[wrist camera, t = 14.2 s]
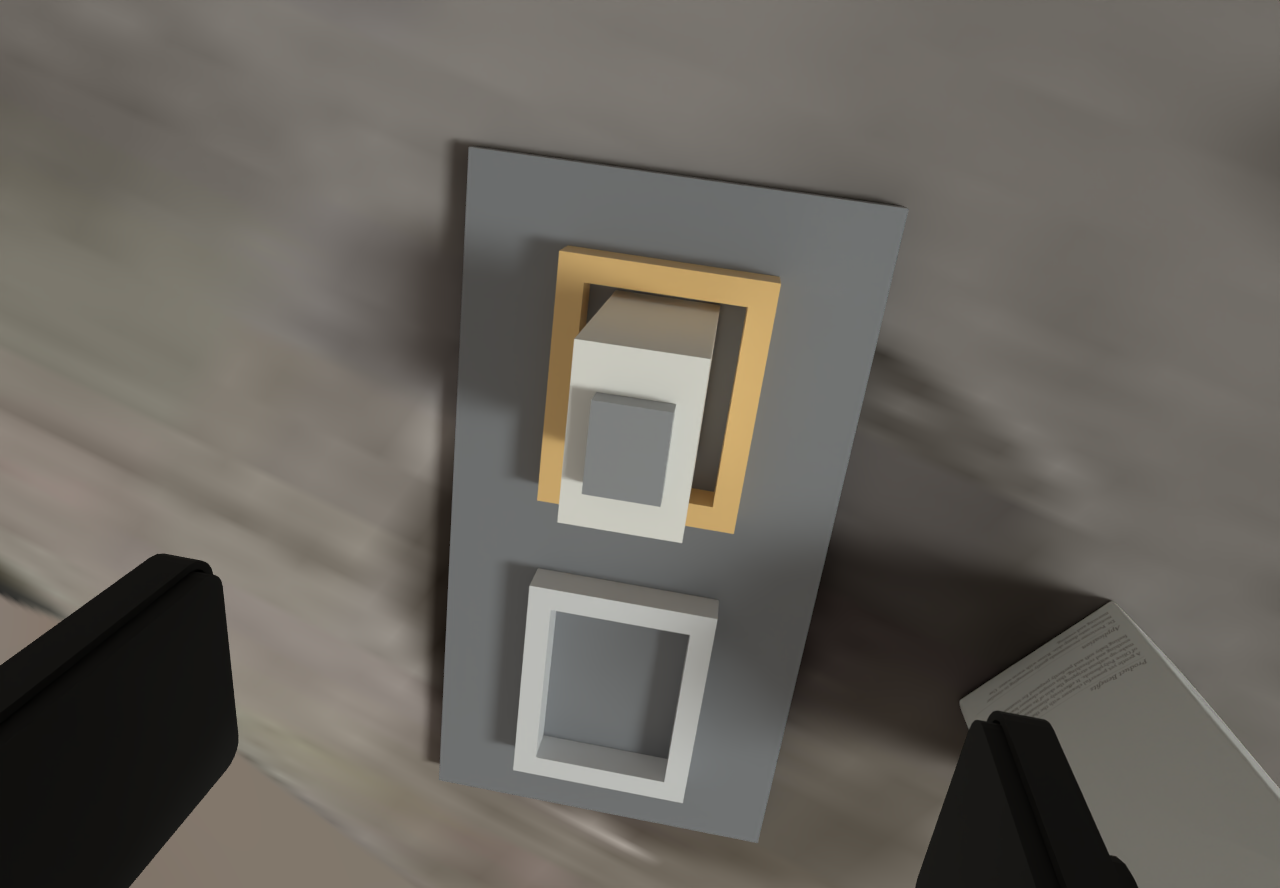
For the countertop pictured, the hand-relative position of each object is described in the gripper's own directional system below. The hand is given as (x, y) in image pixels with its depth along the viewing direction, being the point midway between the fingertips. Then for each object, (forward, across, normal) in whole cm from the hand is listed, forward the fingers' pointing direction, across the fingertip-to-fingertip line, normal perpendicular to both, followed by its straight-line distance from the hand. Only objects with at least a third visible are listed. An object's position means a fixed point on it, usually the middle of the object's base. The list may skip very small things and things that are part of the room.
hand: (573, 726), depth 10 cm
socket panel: (+24, +2, +10) cm, 26 cm away
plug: (+23, +2, +3) cm, 23 cm away
